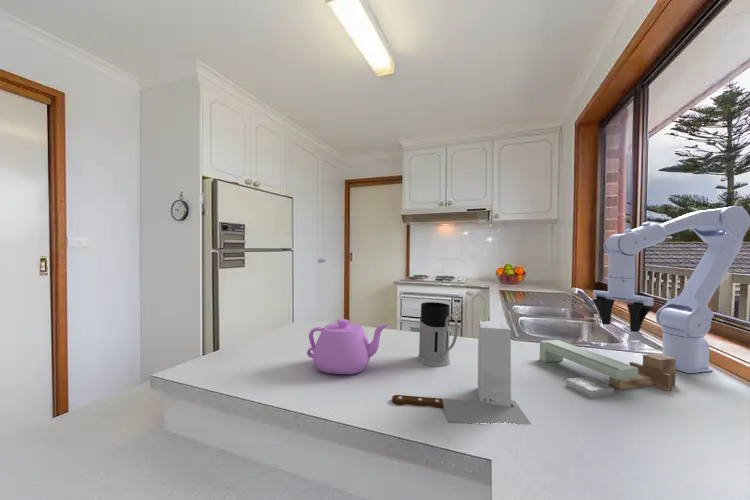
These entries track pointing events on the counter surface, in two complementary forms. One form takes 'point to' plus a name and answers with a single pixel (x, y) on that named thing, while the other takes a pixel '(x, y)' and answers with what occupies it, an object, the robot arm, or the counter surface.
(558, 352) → the drawer pull
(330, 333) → the teapot
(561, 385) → the counter surface
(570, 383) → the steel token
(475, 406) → the kitchen cleaver
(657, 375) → the push stick
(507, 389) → the skincare box
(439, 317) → the glass holder
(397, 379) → the counter surface
